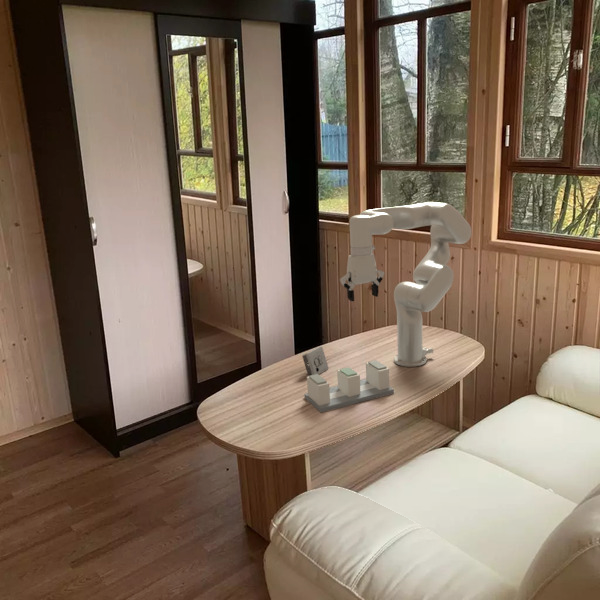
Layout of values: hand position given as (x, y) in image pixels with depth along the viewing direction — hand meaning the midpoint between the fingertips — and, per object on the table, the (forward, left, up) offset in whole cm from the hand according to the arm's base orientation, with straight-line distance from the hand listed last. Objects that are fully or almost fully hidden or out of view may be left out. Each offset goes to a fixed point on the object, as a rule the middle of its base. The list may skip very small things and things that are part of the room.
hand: (363, 298), depth 215 cm
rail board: (+13, +11, -30) cm, 35 cm away
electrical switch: (+14, -14, -31) cm, 36 cm away
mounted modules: (+13, +11, -29) cm, 33 cm away
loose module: (+13, +11, -29) cm, 33 cm away
